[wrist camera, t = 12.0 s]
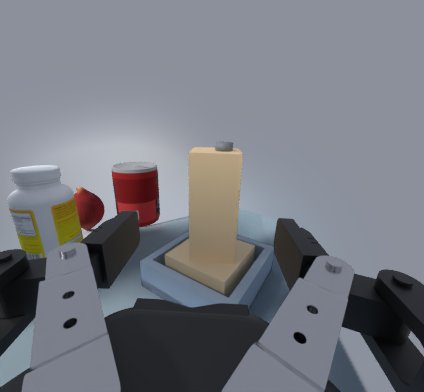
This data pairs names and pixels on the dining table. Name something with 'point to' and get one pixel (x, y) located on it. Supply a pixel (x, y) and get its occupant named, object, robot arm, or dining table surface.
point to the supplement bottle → (43, 210)
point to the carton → (214, 202)
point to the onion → (88, 208)
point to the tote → (197, 293)
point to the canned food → (137, 190)
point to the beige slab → (213, 267)
